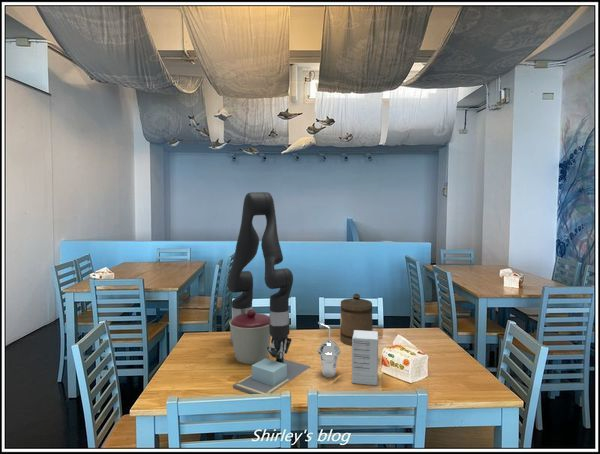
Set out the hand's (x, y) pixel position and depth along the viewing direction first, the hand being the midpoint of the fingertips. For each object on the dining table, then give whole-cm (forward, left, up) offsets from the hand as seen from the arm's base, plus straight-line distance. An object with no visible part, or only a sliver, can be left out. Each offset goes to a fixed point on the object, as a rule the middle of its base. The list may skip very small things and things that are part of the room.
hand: (279, 366), depth 151 cm
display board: (0, -3, -3) cm, 5 cm away
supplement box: (+28, +15, -3) cm, 32 cm away
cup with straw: (+16, +9, -3) cm, 19 cm away
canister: (-18, +4, -3) cm, 19 cm away
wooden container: (+8, +49, -3) cm, 49 cm away
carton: (0, -6, -2) cm, 7 cm away
